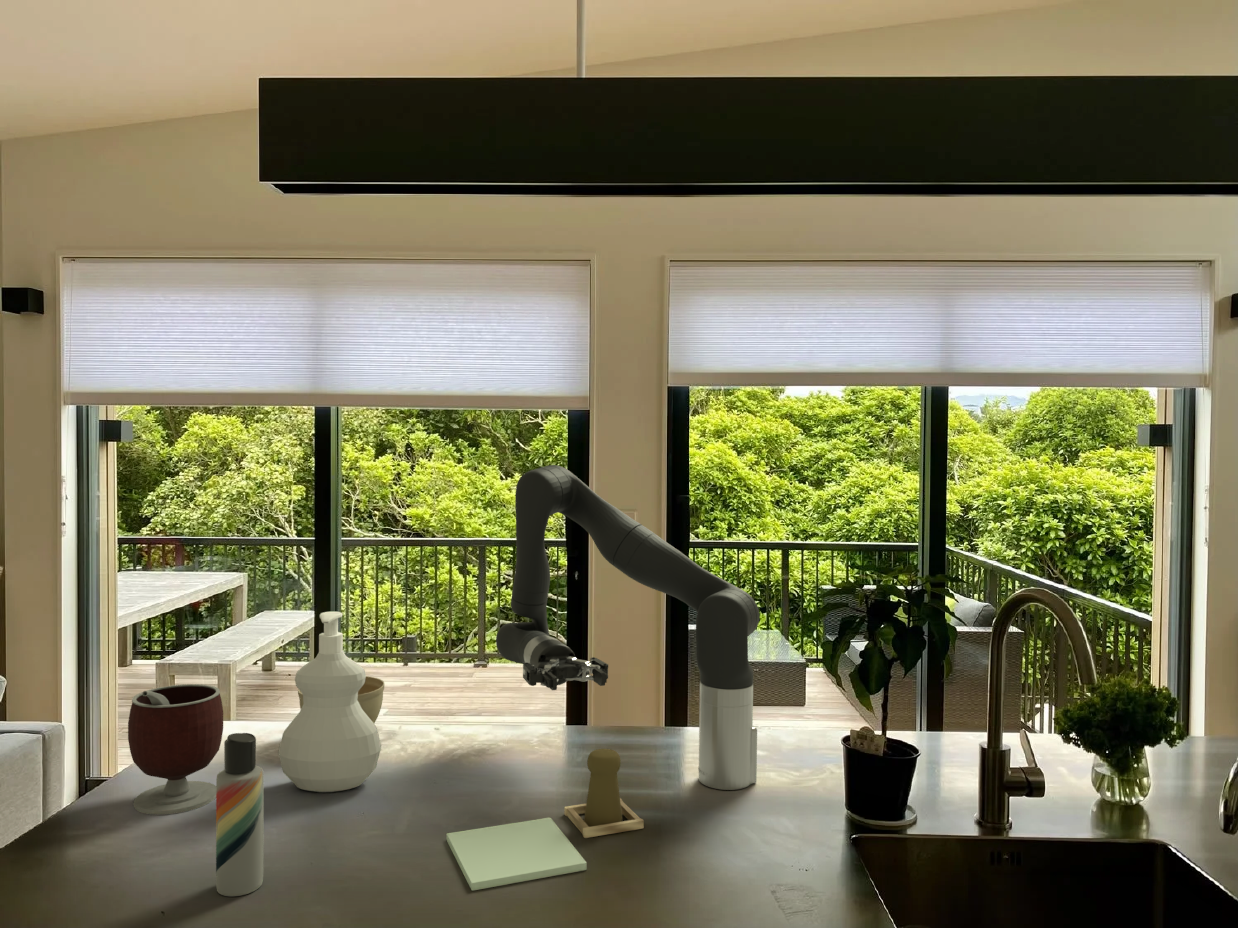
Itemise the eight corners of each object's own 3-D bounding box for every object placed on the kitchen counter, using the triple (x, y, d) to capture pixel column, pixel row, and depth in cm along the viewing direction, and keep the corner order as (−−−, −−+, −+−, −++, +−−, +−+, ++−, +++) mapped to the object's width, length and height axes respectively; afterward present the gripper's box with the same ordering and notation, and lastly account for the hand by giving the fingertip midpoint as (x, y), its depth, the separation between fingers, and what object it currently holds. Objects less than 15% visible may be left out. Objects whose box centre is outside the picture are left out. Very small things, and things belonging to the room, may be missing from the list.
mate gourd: (161, 781, 154) (161, 664, 153) (239, 784, 153) (239, 667, 152) (101, 818, 138) (101, 689, 138) (188, 823, 137) (188, 692, 137)
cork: (618, 831, 136) (619, 759, 136) (579, 827, 137) (580, 755, 137) (626, 815, 142) (627, 746, 142) (588, 811, 143) (589, 742, 143)
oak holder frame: (620, 805, 146) (620, 798, 146) (643, 828, 137) (643, 820, 137) (564, 814, 142) (564, 806, 142) (584, 837, 134) (584, 829, 134)
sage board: (550, 823, 139) (550, 817, 139) (586, 869, 124) (586, 862, 124) (446, 840, 132) (446, 833, 132) (471, 890, 118) (471, 882, 118)
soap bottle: (268, 799, 147) (268, 619, 146) (290, 773, 158) (290, 606, 158) (373, 798, 148) (374, 619, 147) (387, 772, 159) (388, 606, 158)
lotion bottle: (225, 876, 121) (225, 728, 120) (268, 875, 121) (269, 727, 121) (209, 898, 115) (209, 742, 114) (255, 896, 115) (255, 741, 115)
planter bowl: (357, 722, 187) (357, 670, 187) (400, 741, 176) (400, 685, 176) (282, 740, 176) (283, 684, 175) (323, 761, 164) (323, 702, 164)
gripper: (511, 641, 162) (539, 662, 147) (586, 636, 167) (619, 656, 152) (510, 682, 162) (538, 708, 147) (585, 676, 167) (618, 700, 152)
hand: (579, 681), depth 150 cm, fingers open, 8 cm apart
